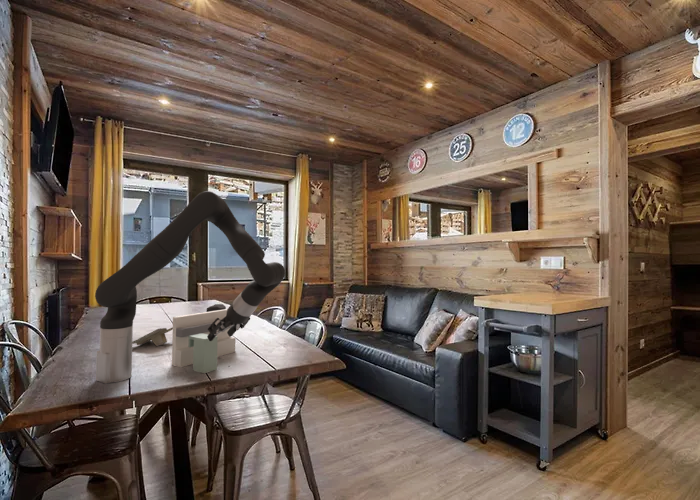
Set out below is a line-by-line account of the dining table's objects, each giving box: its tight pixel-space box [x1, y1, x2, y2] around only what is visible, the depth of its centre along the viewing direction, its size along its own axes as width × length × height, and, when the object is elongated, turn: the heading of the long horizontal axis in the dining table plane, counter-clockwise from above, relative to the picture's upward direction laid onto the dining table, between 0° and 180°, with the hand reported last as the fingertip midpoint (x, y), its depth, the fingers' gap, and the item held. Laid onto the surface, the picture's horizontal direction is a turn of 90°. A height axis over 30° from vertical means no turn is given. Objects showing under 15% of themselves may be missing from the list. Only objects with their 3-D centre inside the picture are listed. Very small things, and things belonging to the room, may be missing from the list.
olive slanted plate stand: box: [132, 327, 173, 347], centre depth 165 cm, size 16×9×15 cm
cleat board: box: [171, 308, 236, 368], centre depth 147 cm, size 26×6×18 cm, turn 150°
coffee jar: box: [206, 303, 227, 312], centre depth 169 cm, size 10×8×19 cm
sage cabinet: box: [188, 333, 218, 374], centre depth 133 cm, size 6×9×12 cm, turn 60°
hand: (219, 336), depth 129 cm, fingers open, 8 cm apart
